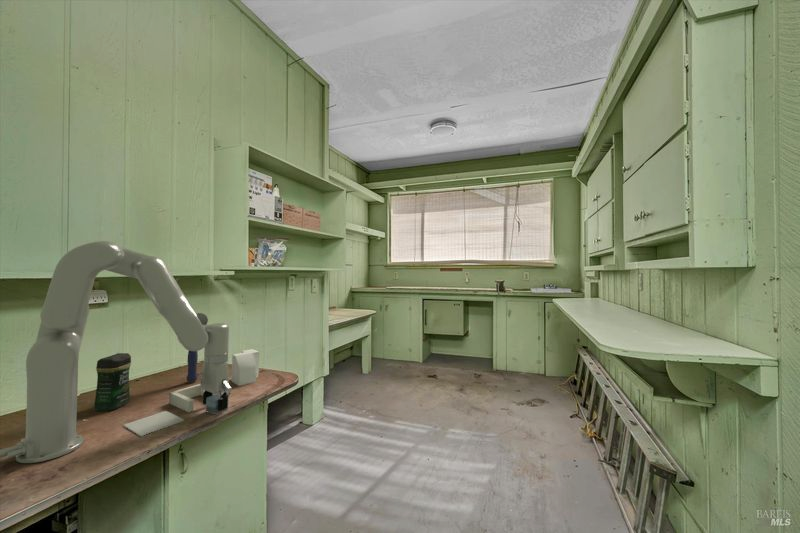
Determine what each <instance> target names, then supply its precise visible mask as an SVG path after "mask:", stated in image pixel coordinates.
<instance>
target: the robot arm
mask: <svg viewBox="0 0 800 533" xmlns="http://www.w3.org/2000/svg"><path fill="white" fill-rule="evenodd" d="M103 271H108V272H112V273H115V274H117V275H118V274H119V275H122V276H126V277H129V278H132V279H137V280H138V282H139V284H140V286H142V288H143V290H144V291H145V293H146V294H147V296H148V297H149V299H150V301H151V302H152V304H153V305H154V307H155V309H156V310H157V311H158V313H159V314H160V315H161V316H162V317H163V318H164V319H165V321H166V322H167V323H168V324H169V326H170V327H171V329H172V331H173V332H174V333H175V335H176V337H177V340H178V342H179V343H180V344H181V346H182V347H183V348H184V349H185V350H187V351H188V352H189V351H197V352H199V351H201V350H204V352H203V355H204V356H203V357H204V358H203V364H202V370H201V372H202V374H200V375H201V378H200V384H201V388H202V389H203V390H202V393H203V396H202V405H205V406H206V398H207V397H210V396H212V395H213V393H214V394H216V393H218V396H219V399H218V411H221V410H223V409H226V408H227V407H228V408H229V397H230V394H231V391H232V387H231V386H230V384H229V383H230V377H229V376H230V375H229V374H230V373H229V363H228V362H229V340H230V339H229V338H230V334H229V333H230V327H229V325H228V324H227V323H219V322H217V323H211V324H206V325H202V323H201V322H200V320H199V318H198V317H197V315H196V312H195V311H194V309H193V307H192V306H191V303H190V302H189V300H188V299H187V297H186V296H185V294H184V292H183V291H182V289H181V287H180V286H179V283H178V282H177V281H176V279H175V277H174V275H173V274H172V273H171V271H170V269H169V267H168V265H167V264H166V263H165V261H164V260H163V259H162V258H160V257H157V256H154V255H148V254H144V253H141V252H139V251H135V250H132V249H129V248H127V247H126V248H125V247H122V246H120V245H118V244H117V243H114V242H113V241H108V240H107V241H106V240H102V241H101V240H100V241H93V242H87V243H84V244H81V245H79V246H76V247H74V248H72V249H70V251H68V252H66V253H65V254H64V255H63V256H62V257H61V258H60V259H59V260H58V262H57V264H56V266H55V268H54V270H53V274H52V277H51V281H50V284H49V286H48V290H47V293H46V297H45V300H44V302H43V303H44V304H43V306H42V308H41V309H40V310H41V311H40V313H39V314H40V315H39V316H40V326H39V328H38V333H37V336H36V340H35V342H34V343H33V344H32V346H31V347H30V348H29V350H28V353H27V355H26V358H25V359H26V360H25V369H26V371H25V372H26V408H25V409H26V413H25V437H23V438H21V439H20V440H21V441H20V442H18V443H16V444H15V445H13V446H9V447H5V448H2V449H0V459H1V458H5V457H6V459H10V458H13V457H15V461H16V462H18V463H21V464H33V463H41V462H45V461H46V462H47V461H49V460H53V459H56V458H58V457H63V456H65V455H67V454H69V453H71V452H73V451H75V450H76V449H78V448H79V447H81V446H82V445H83V443H84V437H83V435H81V434H78V433H77V418H78V416H77V415H78V412H77V411H78V388H79V387H78V386H79V385H78V384H79V382H78V380H79V379H78V378H79V359H80V358H79V357H80V355H79V354H80V350H81V345H82V341H83V336H84V334H85V329H86V326H87V321H88V319H89V318H88V317H89V313H90V305H89V302H90V298H91V294H92V290H93V287H94V284H95V279H96V277H97V276H98V275H99V274H100V273H101V272H103ZM221 392H222V394H223V395H222V394H221Z"/></svg>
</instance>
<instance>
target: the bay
mask: <svg viewBox="0 0 800 533" xmlns="http://www.w3.org/2000/svg"><path fill="white" fill-rule="evenodd" d="M202 390H203V389H202V388H201V383H198V384H194V385H191V386H188V387H184V388H181V389H177V390H174V391H171V392H169V397H168V398H169V399H168V404H169V403H170V404H169V405H171V406H174V407H176V408H178V409H180V410H182V411H184V410H185V412H187V413H192V412H194V405H195V404H194V401H195V400H194V399H193V398H196V397H199V396H202V397H203V393H202ZM216 394H218V393H216ZM216 394H214V393H213V395H216ZM221 394H223V392H221ZM213 395H212V396H213ZM191 411H192V412H191Z"/></svg>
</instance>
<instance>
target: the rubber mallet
mask: <svg viewBox="0 0 800 533" xmlns="http://www.w3.org/2000/svg"><path fill="white" fill-rule="evenodd" d="M195 314H196V315H197V317H198V318H199V320H200V322H201V323H202V325H208V322H209V319H208V316H207V315H206V314H205V313H202V312H197V313H196V312H195ZM198 354H199V353H198V351H189V350H188V353H187V360H186V361H187V375H186V381H187V382H188V383H190V384H191V383H195V382H197V379H198V377H197V372H198V371H197V365H198V362H199V361H198V359H199V358H198V356H199V355H198Z"/></svg>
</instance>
